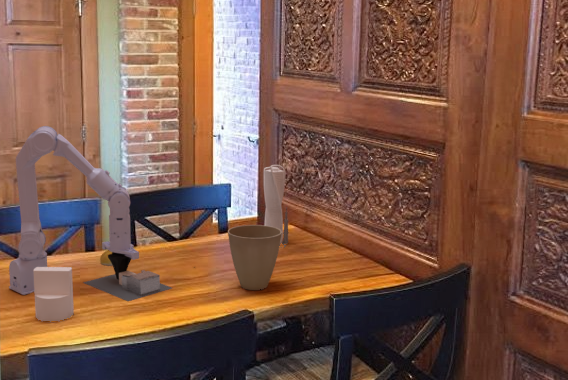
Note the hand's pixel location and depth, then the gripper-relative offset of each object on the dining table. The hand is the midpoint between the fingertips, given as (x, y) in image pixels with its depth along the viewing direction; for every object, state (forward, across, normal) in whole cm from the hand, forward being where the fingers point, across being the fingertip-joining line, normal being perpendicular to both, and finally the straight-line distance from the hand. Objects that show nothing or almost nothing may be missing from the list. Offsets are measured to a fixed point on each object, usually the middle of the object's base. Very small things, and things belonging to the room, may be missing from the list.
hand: (120, 278), depth 210 cm
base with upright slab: (+2, -9, +26) cm, 27 cm away
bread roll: (+2, +17, -10) cm, 20 cm away
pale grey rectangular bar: (+1, -7, 0) cm, 7 cm away
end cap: (+1, -10, 0) cm, 10 cm away
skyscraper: (+2, -3, -60) cm, 60 cm away
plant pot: (+2, -28, -25) cm, 37 cm away
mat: (+1, -4, 0) cm, 4 cm away
